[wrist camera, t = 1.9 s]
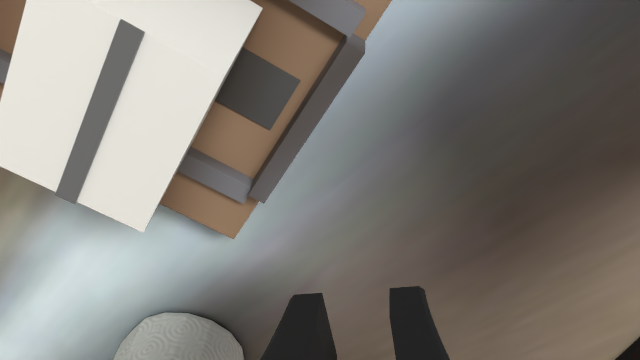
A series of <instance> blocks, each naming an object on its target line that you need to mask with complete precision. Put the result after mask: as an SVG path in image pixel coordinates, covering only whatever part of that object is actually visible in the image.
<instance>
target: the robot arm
mask: <svg viewBox="0 0 640 360" xmlns="http://www.w3.org/2000/svg"><path fill="white" fill-rule="evenodd" d="M390 322H391V328H392V335H393V342H394V348H395V355H396V360H450V359H449V357H448V355H447V353H446V350H445V348H444V346H443V344H442V341H441V339H440V337H439V334H438V332H437V329H436V327H435V324H434V322H433V319H432V316H431V313H430V310H429V307H428V303H427V299H426V295H425V290H424V289H422V288H421V287H419V286H416V287H401V288H390ZM261 360H337V354H336V349H335V345H334V341H333V337H332V333H331V329H330V324H329V320H328V316H327V312H326V308H325V303H324V299H323V295H322V293H315V294H300V295H294V296H293V297H292V298H291V299H290V301H289V304H288V306H287V308H286V310H285V313H284V315H283V317H282V319H281V321H280V323H279V325H278V327H277V329H276V331H275V333H274V335H273V337H272V339H271V341H270V343H269V345H268V347H267V349H266V351H265V353H264V354H263V356H262V358H261Z"/></svg>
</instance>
